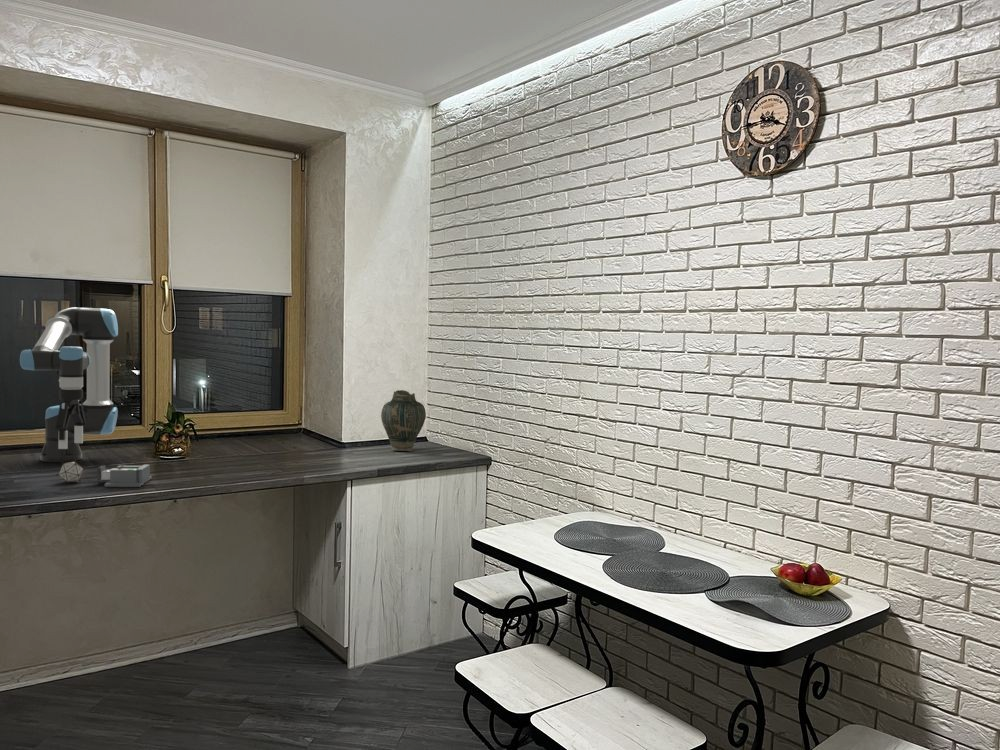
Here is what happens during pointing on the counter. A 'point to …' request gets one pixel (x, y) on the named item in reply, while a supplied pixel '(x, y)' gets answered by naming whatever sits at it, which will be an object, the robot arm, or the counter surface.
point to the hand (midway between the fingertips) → (70, 445)
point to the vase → (403, 420)
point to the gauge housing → (129, 476)
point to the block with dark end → (104, 473)
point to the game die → (70, 471)
